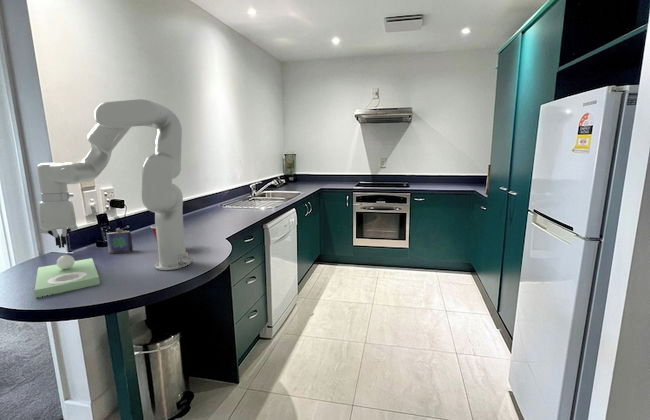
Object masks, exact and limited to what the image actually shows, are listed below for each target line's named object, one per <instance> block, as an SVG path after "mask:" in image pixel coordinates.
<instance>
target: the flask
mask: <svg viewBox="0 0 650 420" xmlns="http://www.w3.org/2000/svg"><path fill="white" fill-rule="evenodd" d="M105 235H106V242H107V247H108V248H107V250H108V253H109V254H120V253H131V252H133V251H134V249H133V242H132V234H131V231H130V230H121V227H118V228H116V229H115V232H114V231H113V232H107V233H106V234H105Z"/></svg>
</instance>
